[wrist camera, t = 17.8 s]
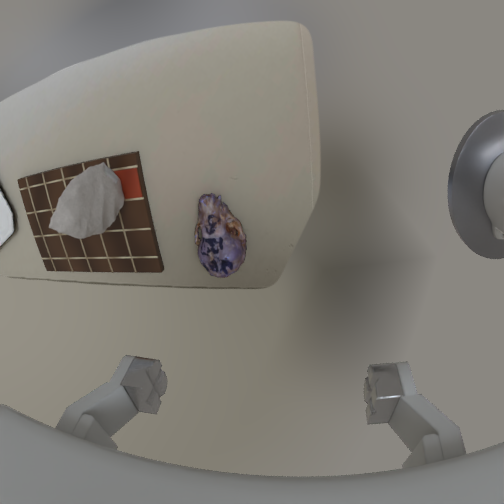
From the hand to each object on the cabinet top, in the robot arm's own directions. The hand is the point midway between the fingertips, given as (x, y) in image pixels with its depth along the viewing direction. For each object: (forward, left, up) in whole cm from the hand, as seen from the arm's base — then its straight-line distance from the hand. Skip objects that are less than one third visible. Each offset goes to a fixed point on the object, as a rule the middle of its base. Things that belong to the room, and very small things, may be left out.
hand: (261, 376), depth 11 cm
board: (+33, +13, -34) cm, 49 cm away
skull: (+8, +11, -34) cm, 37 cm away
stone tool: (+24, +6, -33) cm, 41 cm away
